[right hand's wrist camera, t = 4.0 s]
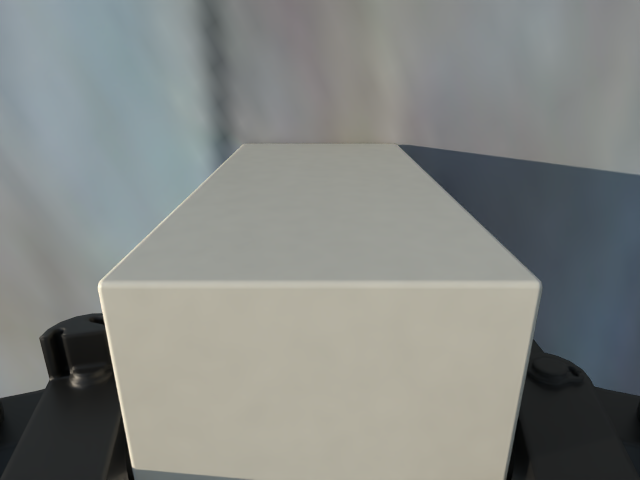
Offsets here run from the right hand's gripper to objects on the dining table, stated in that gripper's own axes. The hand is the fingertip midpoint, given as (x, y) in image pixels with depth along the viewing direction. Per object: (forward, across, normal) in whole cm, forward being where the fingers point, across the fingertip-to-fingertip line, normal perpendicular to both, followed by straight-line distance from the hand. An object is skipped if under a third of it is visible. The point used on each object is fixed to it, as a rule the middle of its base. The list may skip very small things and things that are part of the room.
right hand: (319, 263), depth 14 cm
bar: (+1, 0, -12) cm, 12 cm away
